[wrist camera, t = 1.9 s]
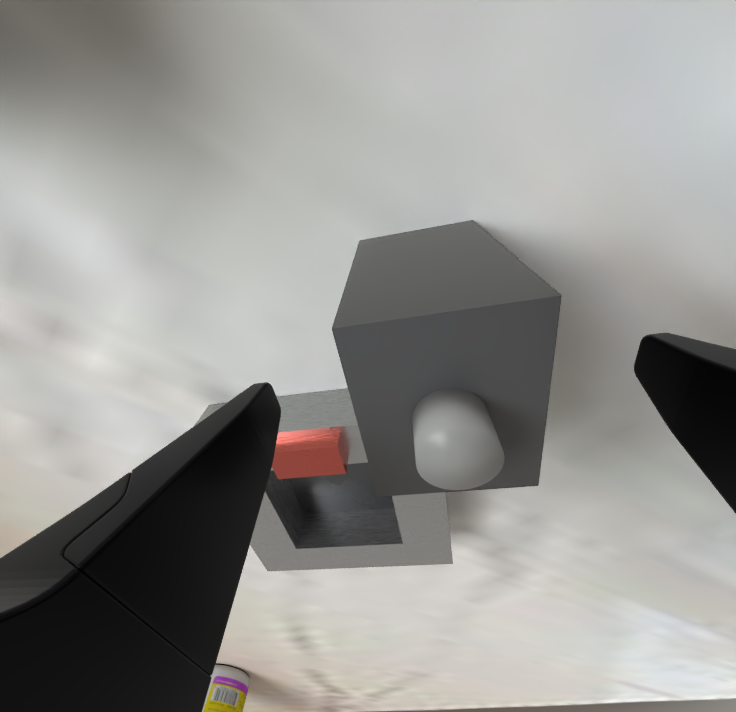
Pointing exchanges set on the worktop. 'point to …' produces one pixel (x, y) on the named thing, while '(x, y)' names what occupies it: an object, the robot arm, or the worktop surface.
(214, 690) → the supplement bottle
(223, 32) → the worktop surface
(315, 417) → the socket plate
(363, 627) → the worktop surface
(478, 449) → the plug
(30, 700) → the robot arm
